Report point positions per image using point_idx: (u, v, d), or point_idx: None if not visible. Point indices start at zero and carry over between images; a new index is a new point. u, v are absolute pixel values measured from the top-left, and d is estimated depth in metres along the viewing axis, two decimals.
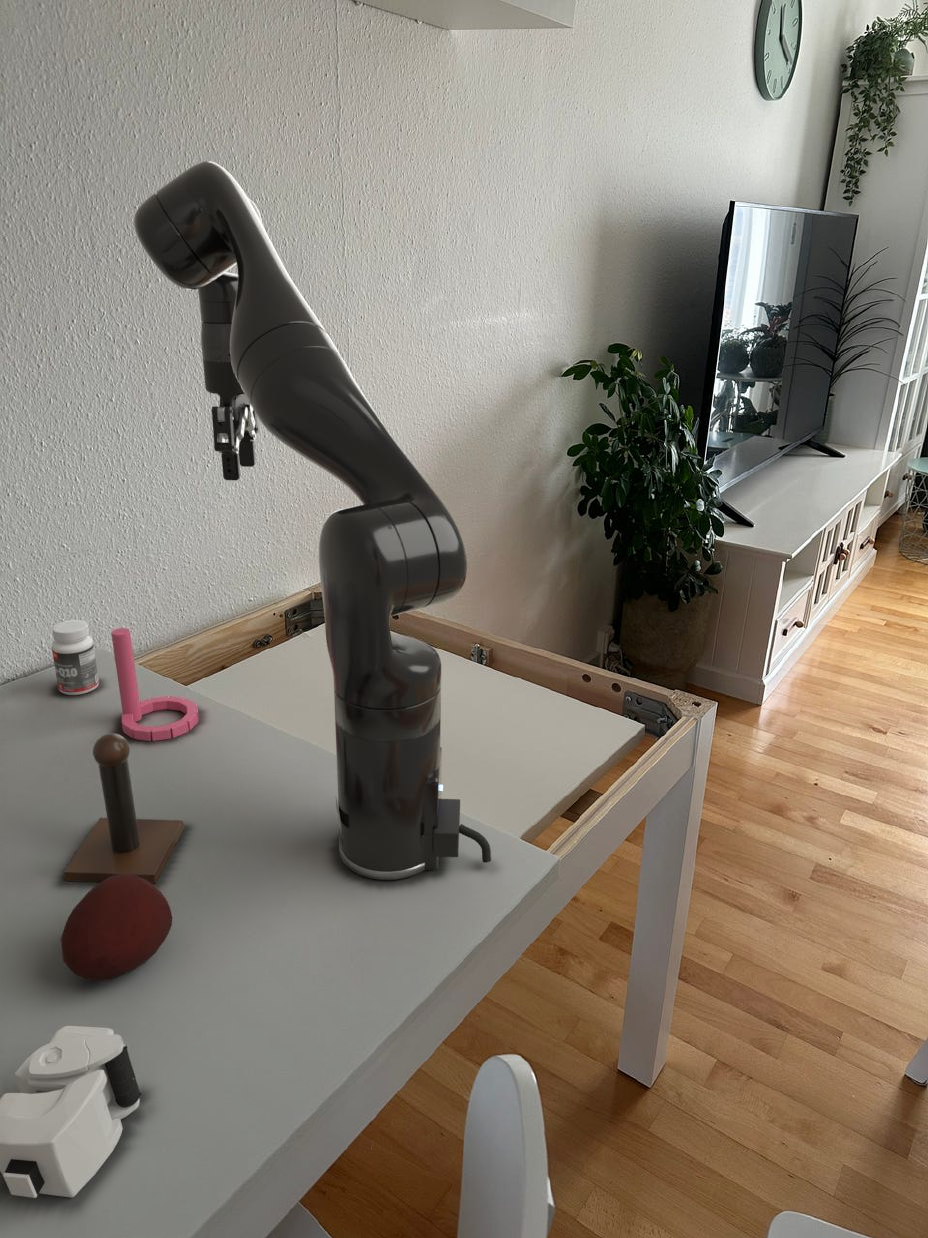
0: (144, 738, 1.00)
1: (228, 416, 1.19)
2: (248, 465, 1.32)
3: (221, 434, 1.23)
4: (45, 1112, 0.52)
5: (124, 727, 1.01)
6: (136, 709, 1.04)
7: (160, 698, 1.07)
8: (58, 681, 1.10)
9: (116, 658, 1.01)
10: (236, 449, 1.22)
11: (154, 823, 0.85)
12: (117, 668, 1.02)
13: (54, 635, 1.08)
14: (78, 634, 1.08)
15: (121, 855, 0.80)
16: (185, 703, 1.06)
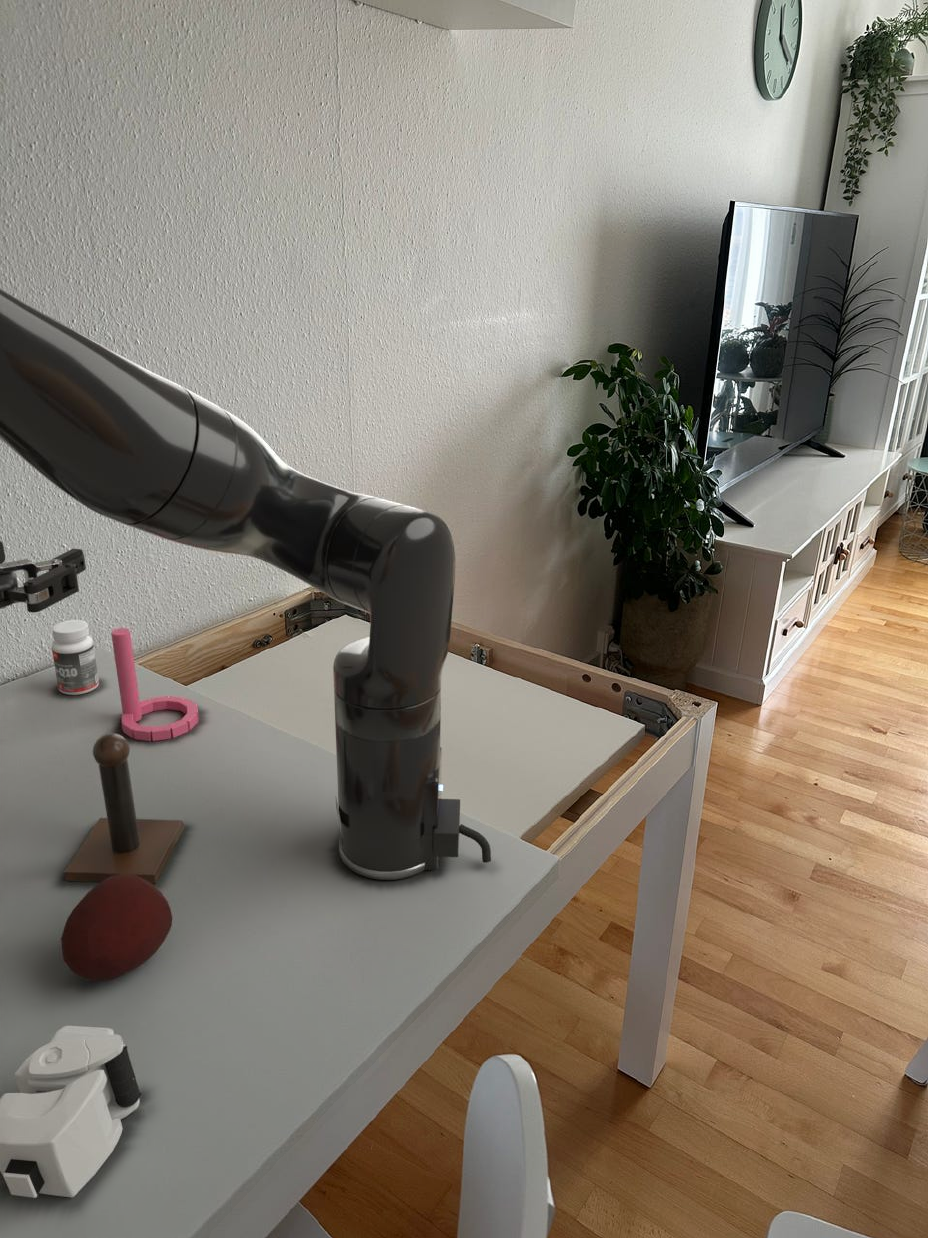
0: (144, 738, 1.00)
1: (42, 584, 0.76)
2: (2, 548, 0.86)
3: None
4: (45, 1112, 0.52)
5: (124, 727, 1.01)
6: (136, 709, 1.04)
7: (160, 698, 1.07)
8: (58, 681, 1.10)
9: (116, 658, 1.01)
10: (58, 561, 0.80)
11: (154, 823, 0.85)
12: (117, 668, 1.02)
13: (54, 635, 1.08)
14: (78, 634, 1.08)
15: (121, 855, 0.80)
16: (185, 703, 1.06)
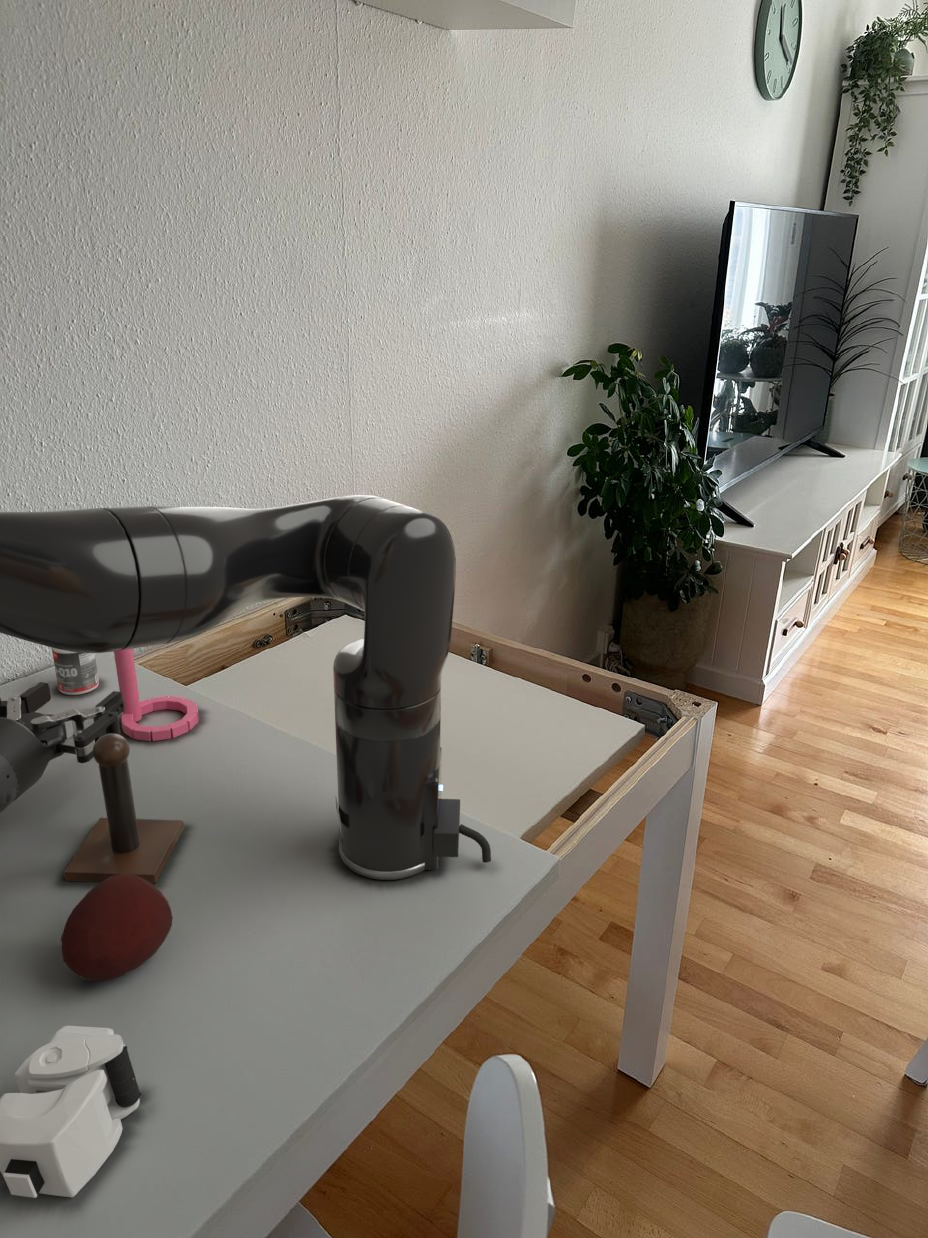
0: (144, 738, 1.00)
1: (90, 737, 0.85)
2: (48, 689, 0.95)
3: None
4: (45, 1112, 0.52)
5: (124, 727, 1.01)
6: (136, 709, 1.04)
7: (160, 698, 1.07)
8: (58, 681, 1.10)
9: (116, 658, 1.01)
10: (101, 709, 0.89)
11: (154, 823, 0.85)
12: (117, 668, 1.02)
13: None
14: None
15: (121, 855, 0.80)
16: (185, 703, 1.06)
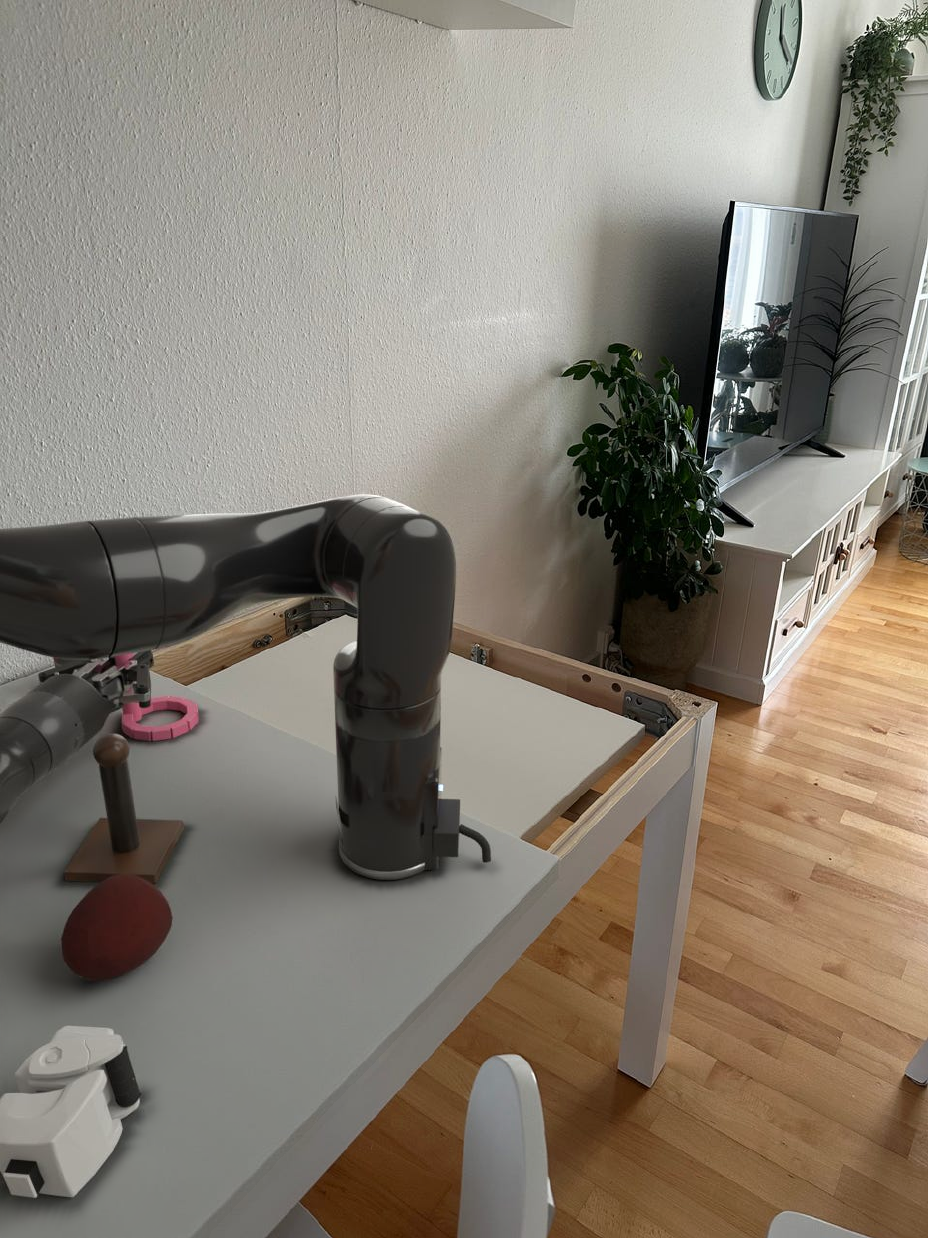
0: (144, 738, 1.00)
1: (148, 684, 0.96)
2: None
3: (128, 687, 0.99)
4: (45, 1112, 0.52)
5: (124, 727, 1.01)
6: (136, 709, 1.04)
7: (160, 698, 1.07)
8: None
9: (116, 658, 1.01)
10: (135, 661, 1.00)
11: (154, 823, 0.85)
12: None
13: None
14: None
15: (121, 855, 0.80)
16: (185, 703, 1.06)
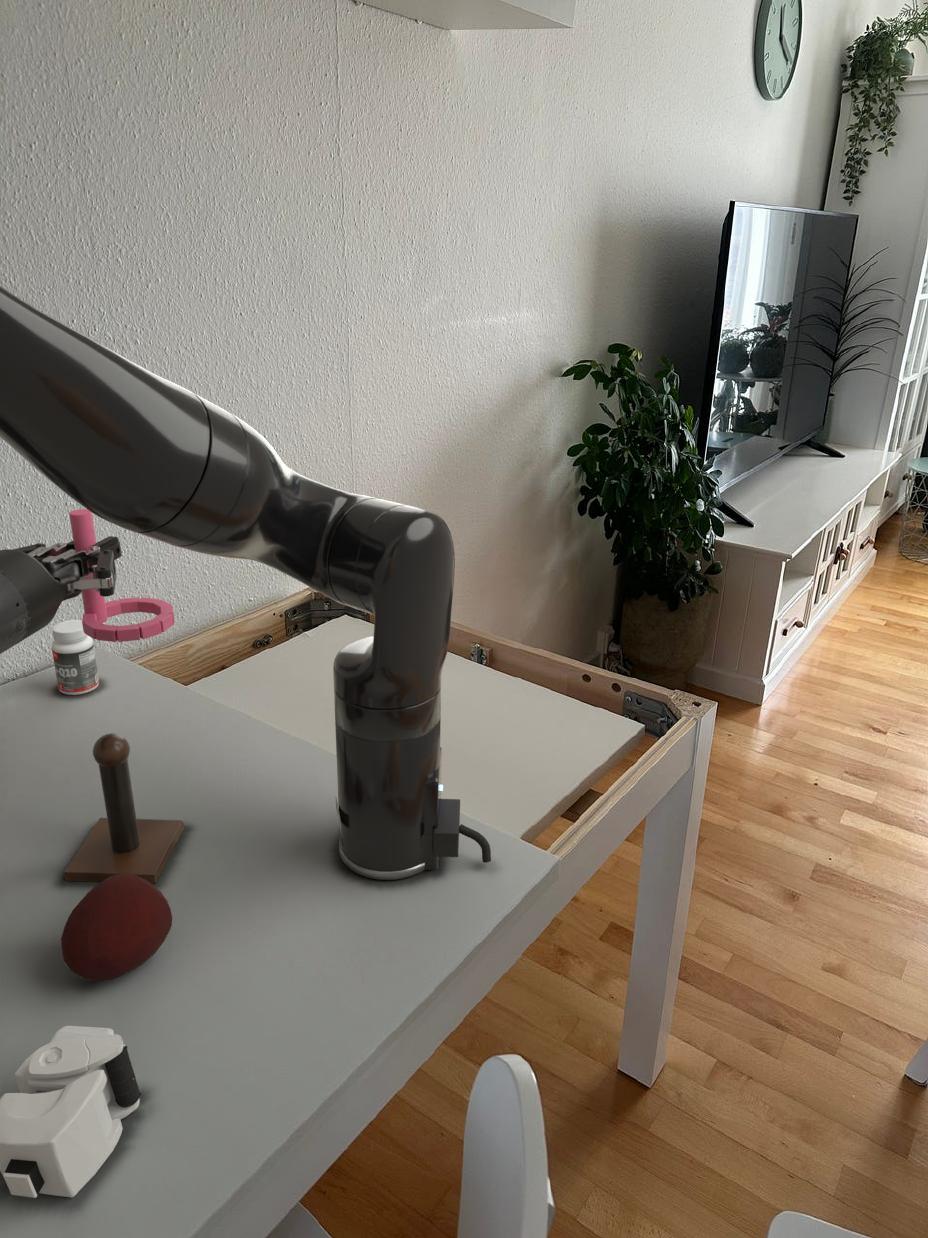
0: (108, 638, 0.84)
1: (110, 568, 0.80)
2: None
3: None
4: (45, 1112, 0.52)
5: (85, 626, 0.85)
6: (100, 608, 0.88)
7: (130, 599, 0.91)
8: (58, 681, 1.10)
9: (75, 544, 0.85)
10: (97, 547, 0.84)
11: (154, 823, 0.85)
12: None
13: (54, 635, 1.08)
14: (78, 634, 1.08)
15: (121, 855, 0.80)
16: (159, 604, 0.90)
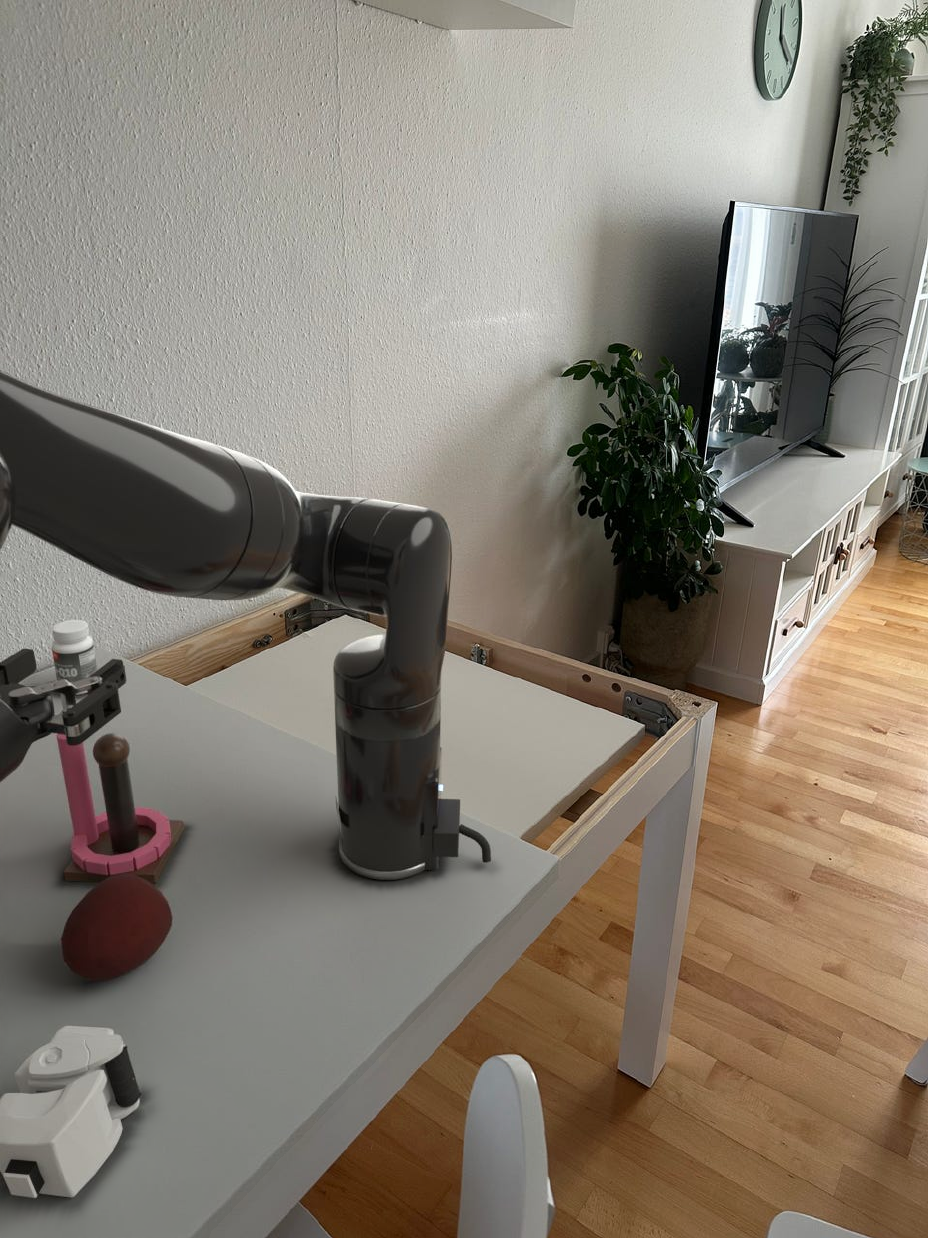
0: (99, 871, 0.78)
1: (82, 713, 0.68)
2: (33, 657, 0.78)
3: None
4: (45, 1112, 0.52)
5: (74, 855, 0.79)
6: (91, 829, 0.81)
7: None
8: None
9: (63, 767, 0.78)
10: (97, 680, 0.72)
11: None
12: (65, 779, 0.79)
13: (54, 635, 1.08)
14: (78, 634, 1.08)
15: None
16: (154, 818, 0.84)
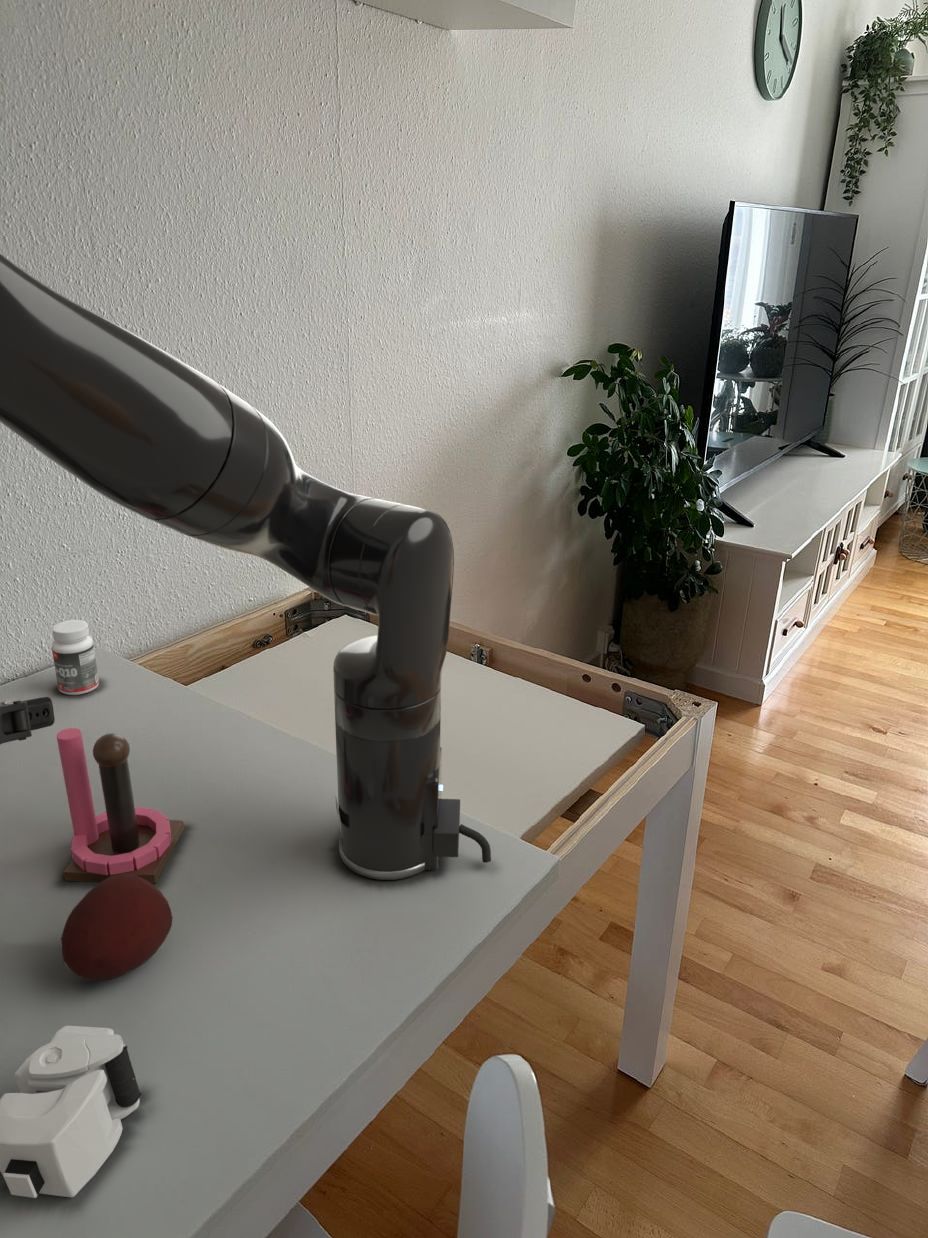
0: (99, 871, 0.78)
1: None
2: None
3: None
4: (45, 1112, 0.52)
5: (74, 855, 0.79)
6: (91, 829, 0.81)
7: None
8: (58, 681, 1.10)
9: (63, 767, 0.78)
10: (8, 703, 0.63)
11: None
12: (65, 779, 0.79)
13: (54, 635, 1.08)
14: (78, 634, 1.08)
15: None
16: (154, 818, 0.84)
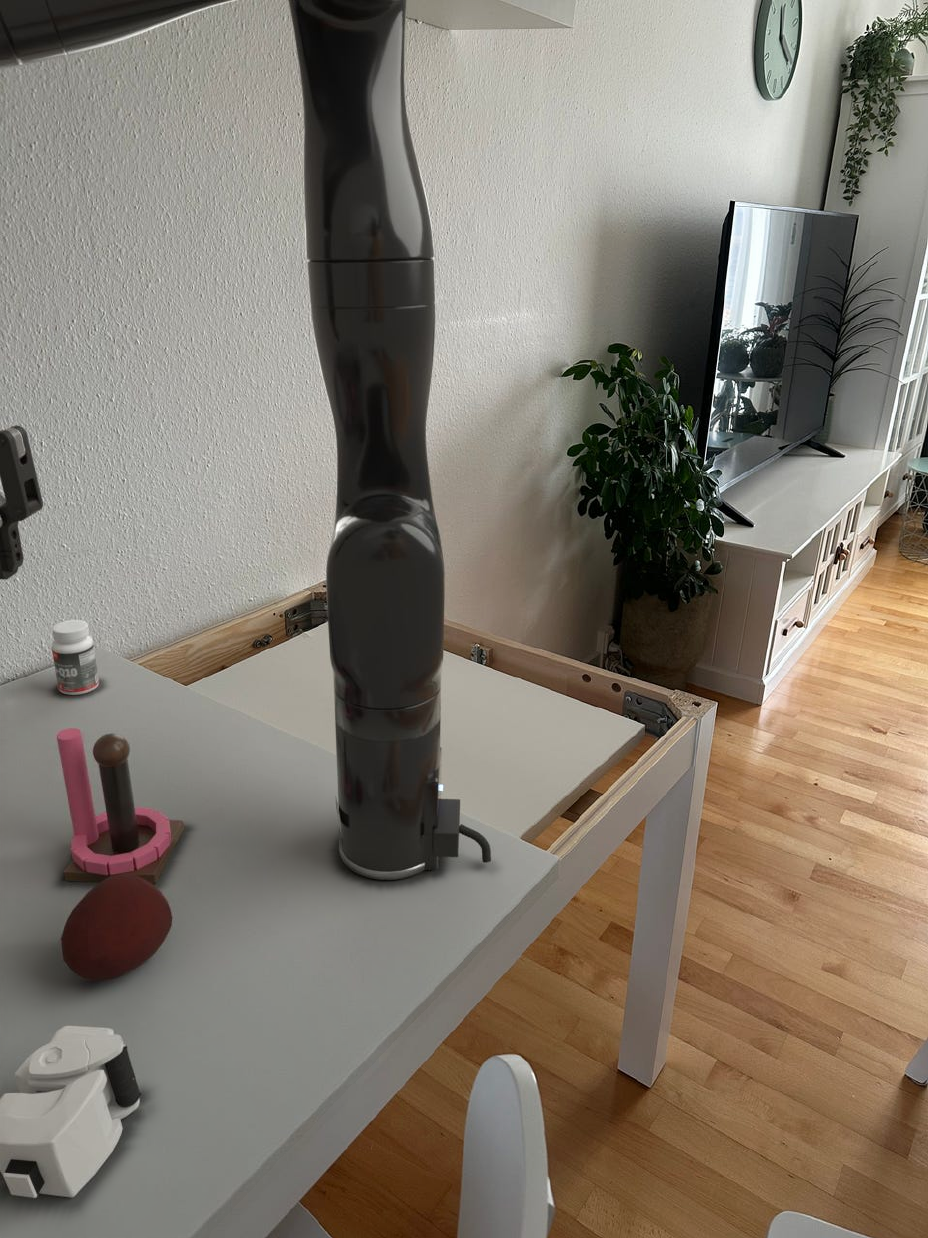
0: (99, 871, 0.78)
1: (27, 443, 0.60)
2: None
3: None
4: (45, 1112, 0.52)
5: (74, 855, 0.79)
6: (91, 829, 0.81)
7: None
8: (58, 681, 1.10)
9: (63, 767, 0.78)
10: None
11: None
12: (65, 779, 0.79)
13: (54, 635, 1.08)
14: (78, 634, 1.08)
15: None
16: (154, 818, 0.84)
